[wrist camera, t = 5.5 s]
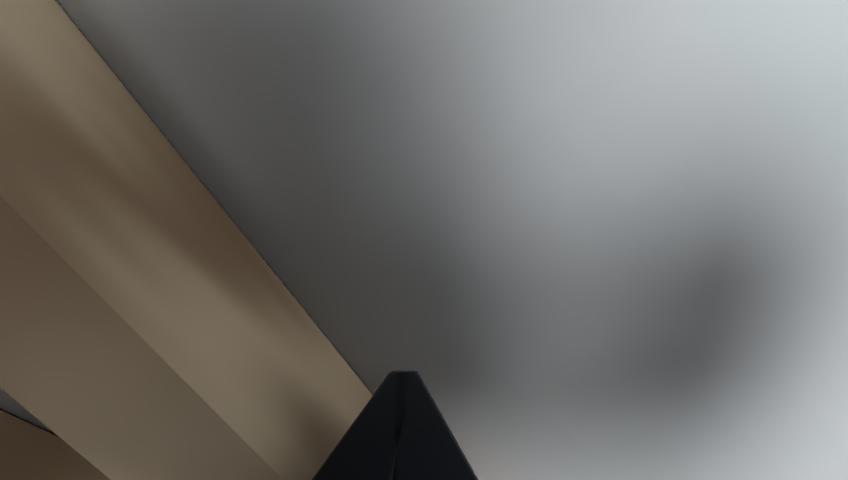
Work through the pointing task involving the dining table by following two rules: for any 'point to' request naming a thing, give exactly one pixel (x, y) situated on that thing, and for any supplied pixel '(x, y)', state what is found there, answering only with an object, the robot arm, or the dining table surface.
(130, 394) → the tongs jaw
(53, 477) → the tongs fixed arm
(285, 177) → the dining table surface
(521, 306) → the dining table surface
